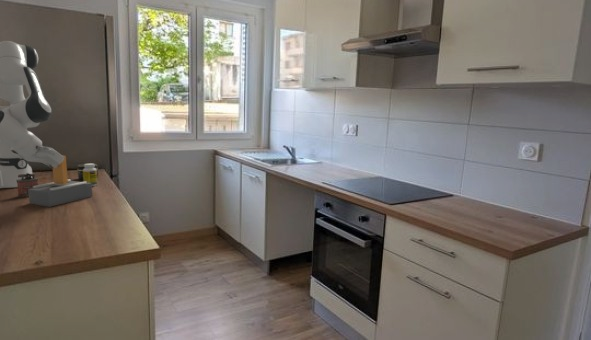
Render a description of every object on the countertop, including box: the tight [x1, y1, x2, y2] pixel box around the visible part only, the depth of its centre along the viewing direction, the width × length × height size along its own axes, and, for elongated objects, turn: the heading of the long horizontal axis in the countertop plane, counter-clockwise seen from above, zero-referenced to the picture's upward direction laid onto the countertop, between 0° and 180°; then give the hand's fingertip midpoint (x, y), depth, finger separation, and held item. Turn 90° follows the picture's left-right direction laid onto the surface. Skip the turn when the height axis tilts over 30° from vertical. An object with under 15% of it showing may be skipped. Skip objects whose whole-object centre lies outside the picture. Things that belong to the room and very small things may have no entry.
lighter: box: [16, 173, 39, 198], centre depth 172 cm, size 8×3×10 cm, turn 135°
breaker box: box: [28, 179, 93, 208], centre depth 165 cm, size 12×20×7 cm, turn 158°
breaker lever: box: [52, 154, 69, 184], centre depth 164 cm, size 6×2×12 cm, turn 68°
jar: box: [76, 163, 99, 181], centre depth 211 cm, size 10×10×8 cm
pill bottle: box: [82, 162, 98, 187], centre depth 194 cm, size 6×6×11 cm
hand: (54, 166), depth 162 cm, fingers closed
